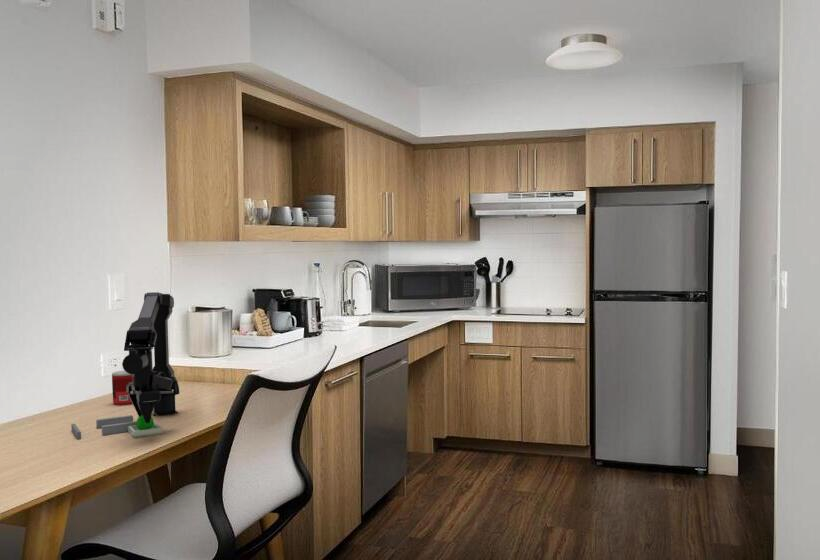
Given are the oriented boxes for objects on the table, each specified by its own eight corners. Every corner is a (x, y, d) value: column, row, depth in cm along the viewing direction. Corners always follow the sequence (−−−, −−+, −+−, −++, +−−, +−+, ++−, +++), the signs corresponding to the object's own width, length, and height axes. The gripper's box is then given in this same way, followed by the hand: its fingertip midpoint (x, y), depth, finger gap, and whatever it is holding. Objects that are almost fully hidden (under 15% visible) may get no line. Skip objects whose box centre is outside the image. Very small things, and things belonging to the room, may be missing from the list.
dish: (155, 428, 230) (155, 422, 230) (161, 433, 223) (161, 427, 223) (127, 432, 226) (127, 426, 226) (133, 438, 219) (133, 431, 219)
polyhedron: (136, 429, 226) (136, 413, 226) (153, 427, 228) (153, 412, 228) (136, 433, 222) (136, 417, 222) (154, 431, 223) (153, 415, 223)
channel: (131, 422, 238) (131, 414, 238) (140, 430, 228) (139, 422, 228) (71, 430, 229) (71, 422, 229) (77, 439, 219) (77, 430, 218)
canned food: (141, 402, 268) (140, 371, 267) (122, 406, 261) (121, 375, 260) (127, 399, 272) (126, 369, 271) (108, 404, 265) (107, 373, 264)
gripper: (178, 369, 220) (179, 422, 221) (162, 361, 236) (164, 410, 237) (138, 373, 214) (140, 427, 215) (125, 364, 230) (127, 415, 231)
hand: (144, 419), depth 224 cm, fingers open, 9 cm apart
